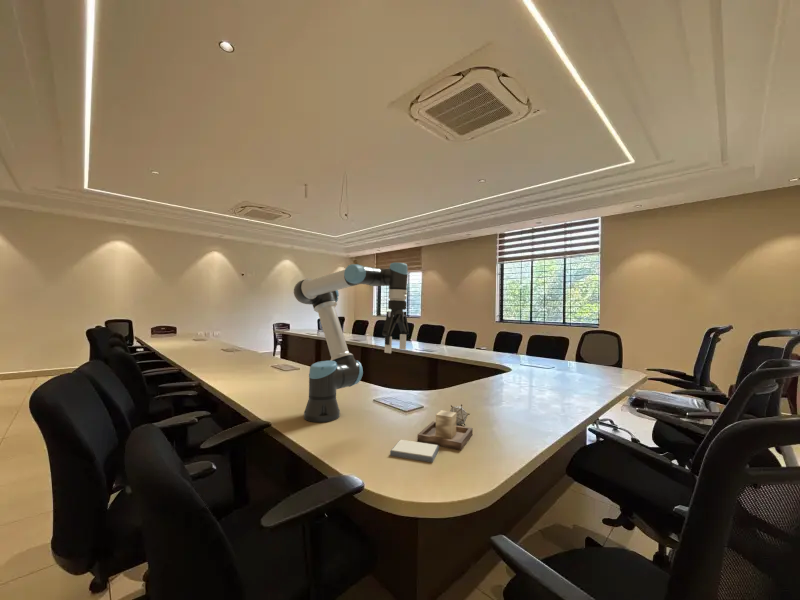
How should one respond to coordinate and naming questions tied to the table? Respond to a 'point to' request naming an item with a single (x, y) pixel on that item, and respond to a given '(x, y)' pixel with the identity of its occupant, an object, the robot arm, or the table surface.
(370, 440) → the table surface
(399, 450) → the white grey flat slab
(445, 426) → the beech block
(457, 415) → the game die
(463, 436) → the walnut tray
